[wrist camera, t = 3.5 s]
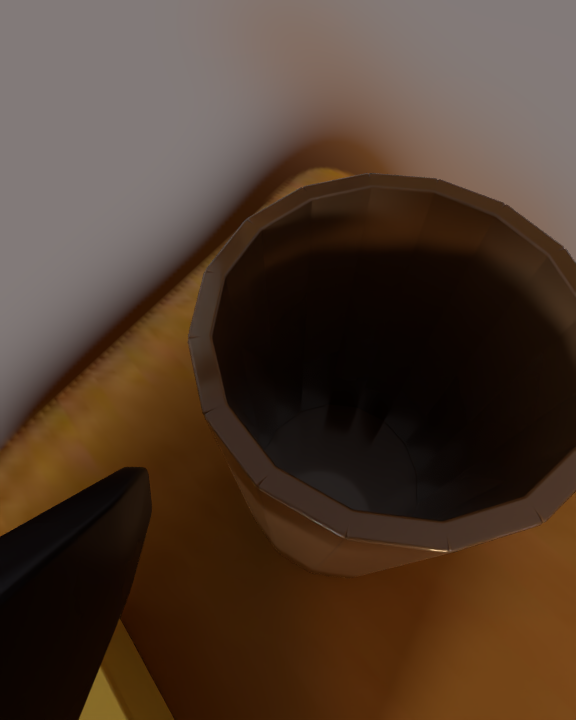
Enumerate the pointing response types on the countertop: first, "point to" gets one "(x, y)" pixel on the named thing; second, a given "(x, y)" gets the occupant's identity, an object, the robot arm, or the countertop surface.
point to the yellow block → (124, 685)
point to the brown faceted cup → (390, 371)
